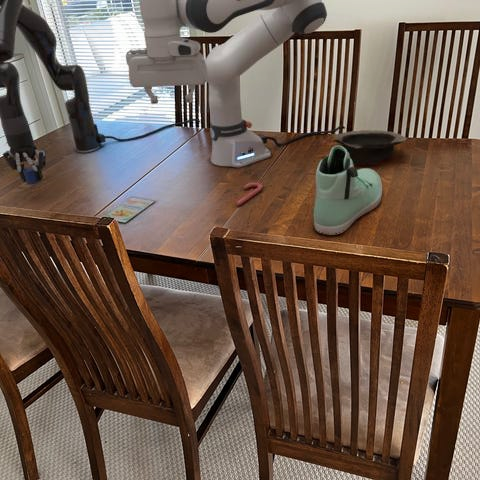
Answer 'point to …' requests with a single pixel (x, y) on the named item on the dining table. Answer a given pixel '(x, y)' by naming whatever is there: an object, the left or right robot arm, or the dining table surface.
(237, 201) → the candy cane
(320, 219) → the sneaker
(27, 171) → the can
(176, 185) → the dining table surface
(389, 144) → the stone bowl
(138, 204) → the baking ingredient package
